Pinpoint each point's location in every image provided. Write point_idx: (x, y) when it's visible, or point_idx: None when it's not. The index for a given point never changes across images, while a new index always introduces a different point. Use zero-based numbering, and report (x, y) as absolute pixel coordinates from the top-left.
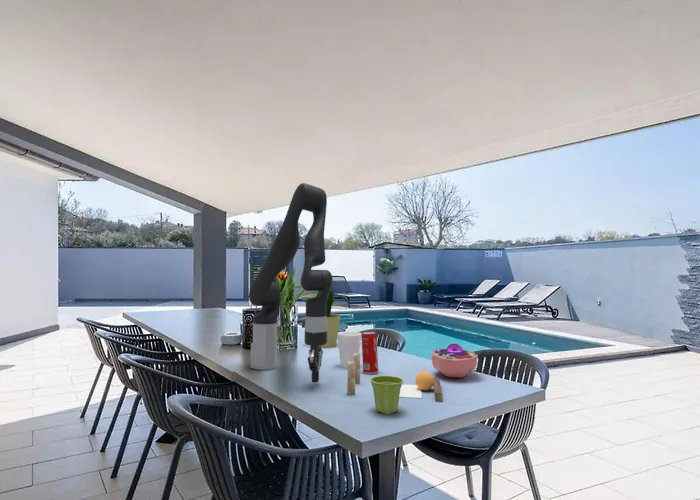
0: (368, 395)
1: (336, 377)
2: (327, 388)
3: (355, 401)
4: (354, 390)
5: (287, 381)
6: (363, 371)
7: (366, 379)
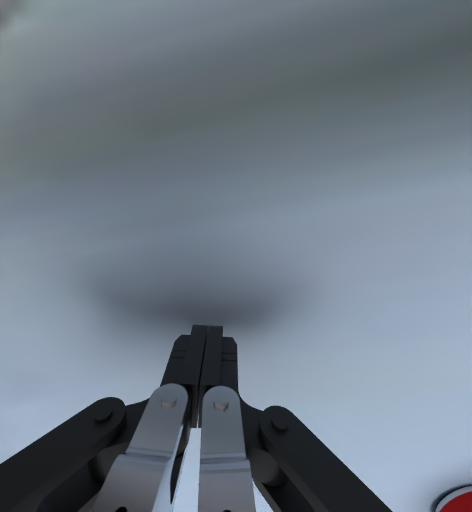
0: None
1: (400, 397)
2: None
3: None
4: None
5: (319, 113)
6: (470, 494)
7: None
